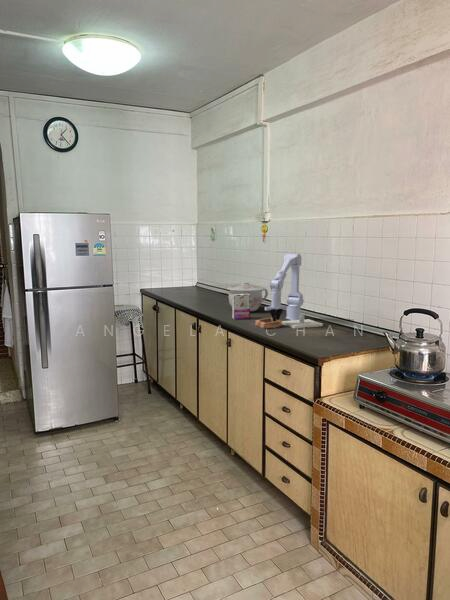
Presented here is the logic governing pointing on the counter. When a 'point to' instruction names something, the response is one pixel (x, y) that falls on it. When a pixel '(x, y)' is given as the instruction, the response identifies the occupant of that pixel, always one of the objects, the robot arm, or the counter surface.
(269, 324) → the loop
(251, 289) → the chamber pot
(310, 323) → the hook board
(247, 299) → the candy bar box
